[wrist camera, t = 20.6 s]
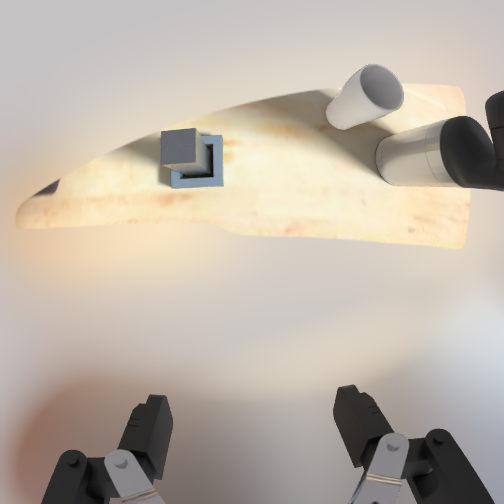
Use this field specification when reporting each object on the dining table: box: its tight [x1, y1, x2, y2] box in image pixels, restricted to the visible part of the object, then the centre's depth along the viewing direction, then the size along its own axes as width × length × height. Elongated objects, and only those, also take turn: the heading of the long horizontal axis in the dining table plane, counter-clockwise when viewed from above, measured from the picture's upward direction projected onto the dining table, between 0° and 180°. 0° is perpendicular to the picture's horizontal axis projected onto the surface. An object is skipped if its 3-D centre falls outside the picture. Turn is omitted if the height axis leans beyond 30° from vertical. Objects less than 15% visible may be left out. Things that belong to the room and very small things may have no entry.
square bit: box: [161, 128, 211, 176], centre depth 32 cm, size 4×4×16 cm
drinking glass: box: [326, 64, 404, 130], centre depth 32 cm, size 7×7×15 cm
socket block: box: [171, 135, 224, 189], centre depth 38 cm, size 8×8×3 cm
